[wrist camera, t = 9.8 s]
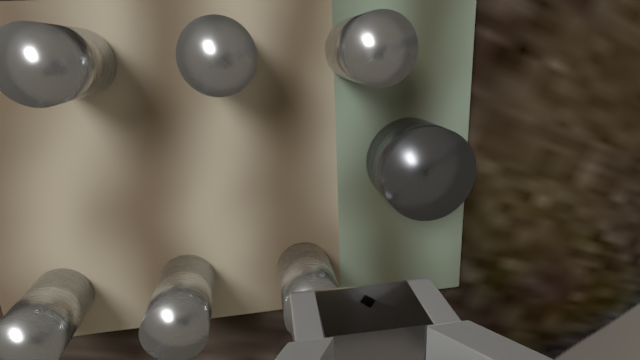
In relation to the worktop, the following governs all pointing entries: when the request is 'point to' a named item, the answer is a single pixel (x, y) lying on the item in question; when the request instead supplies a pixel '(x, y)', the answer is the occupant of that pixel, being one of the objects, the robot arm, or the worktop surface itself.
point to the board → (223, 157)
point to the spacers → (209, 79)
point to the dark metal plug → (421, 168)
